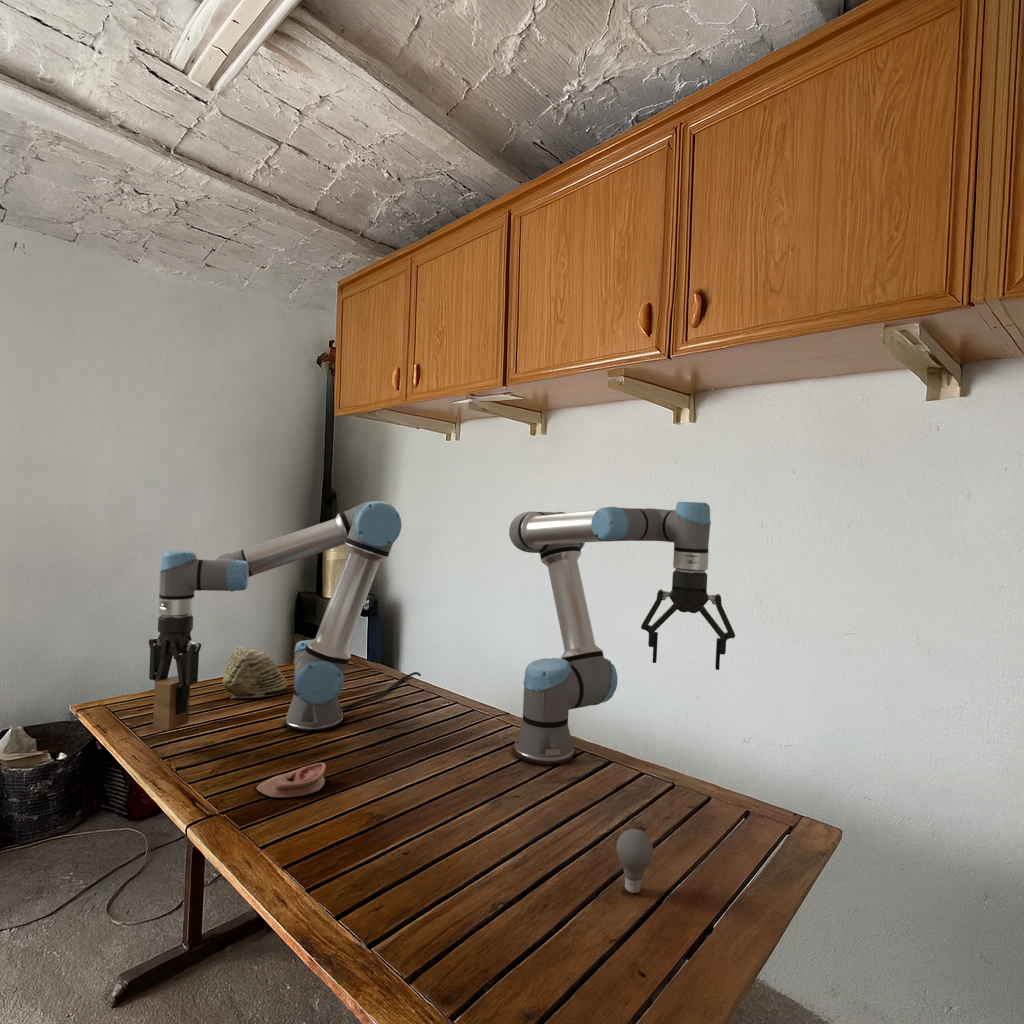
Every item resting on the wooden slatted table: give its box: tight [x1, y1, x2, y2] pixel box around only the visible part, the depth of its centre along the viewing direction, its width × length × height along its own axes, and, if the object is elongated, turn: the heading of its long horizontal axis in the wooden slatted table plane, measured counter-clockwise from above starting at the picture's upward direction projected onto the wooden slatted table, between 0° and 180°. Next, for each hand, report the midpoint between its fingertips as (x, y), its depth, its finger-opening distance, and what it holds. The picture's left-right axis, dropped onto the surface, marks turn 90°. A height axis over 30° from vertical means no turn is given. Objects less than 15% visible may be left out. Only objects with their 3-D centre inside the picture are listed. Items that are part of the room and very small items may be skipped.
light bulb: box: [615, 828, 654, 894], centre depth 106 cm, size 6×6×10 cm
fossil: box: [222, 646, 288, 699], centre depth 198 cm, size 9×18×15 cm, turn 132°
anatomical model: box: [256, 762, 327, 799], centre depth 137 cm, size 13×4×12 cm
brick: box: [152, 675, 191, 732], centre depth 153 cm, size 6×5×11 cm
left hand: (171, 711), depth 153 cm, fingers closed on brick, 5 cm apart
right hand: (685, 665), depth 142 cm, fingers open, 13 cm apart
